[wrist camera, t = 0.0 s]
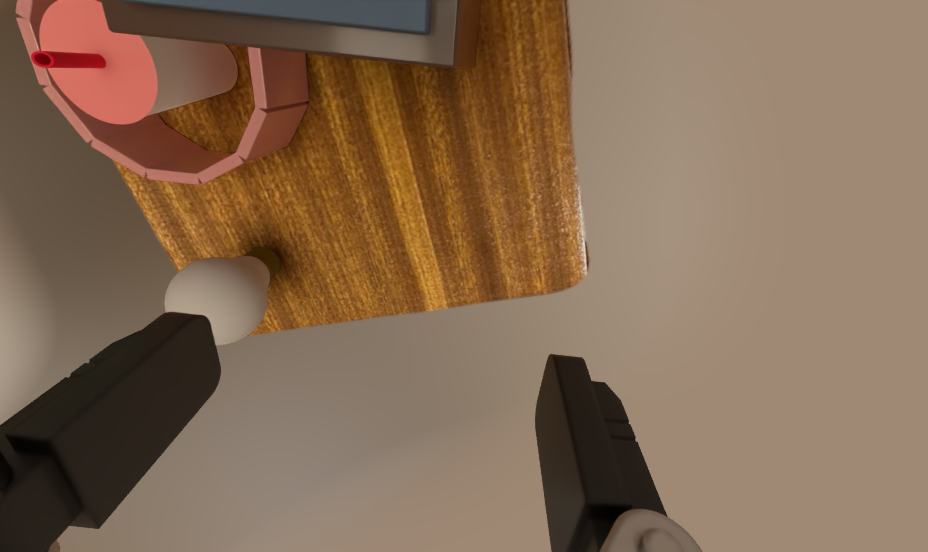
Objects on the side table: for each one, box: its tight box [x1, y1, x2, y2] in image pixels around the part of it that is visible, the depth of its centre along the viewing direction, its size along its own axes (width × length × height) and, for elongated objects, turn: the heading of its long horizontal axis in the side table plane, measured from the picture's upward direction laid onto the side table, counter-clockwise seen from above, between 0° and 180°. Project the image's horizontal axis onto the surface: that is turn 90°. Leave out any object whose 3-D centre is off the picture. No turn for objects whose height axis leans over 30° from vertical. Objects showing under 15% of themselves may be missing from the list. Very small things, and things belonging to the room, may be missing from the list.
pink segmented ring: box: [16, 0, 309, 185], centre depth 24 cm, size 13×13×6 cm
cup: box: [31, 0, 238, 124], centre depth 22 cm, size 5×5×12 cm
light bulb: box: [165, 247, 280, 345], centre depth 29 cm, size 6×6×10 cm
